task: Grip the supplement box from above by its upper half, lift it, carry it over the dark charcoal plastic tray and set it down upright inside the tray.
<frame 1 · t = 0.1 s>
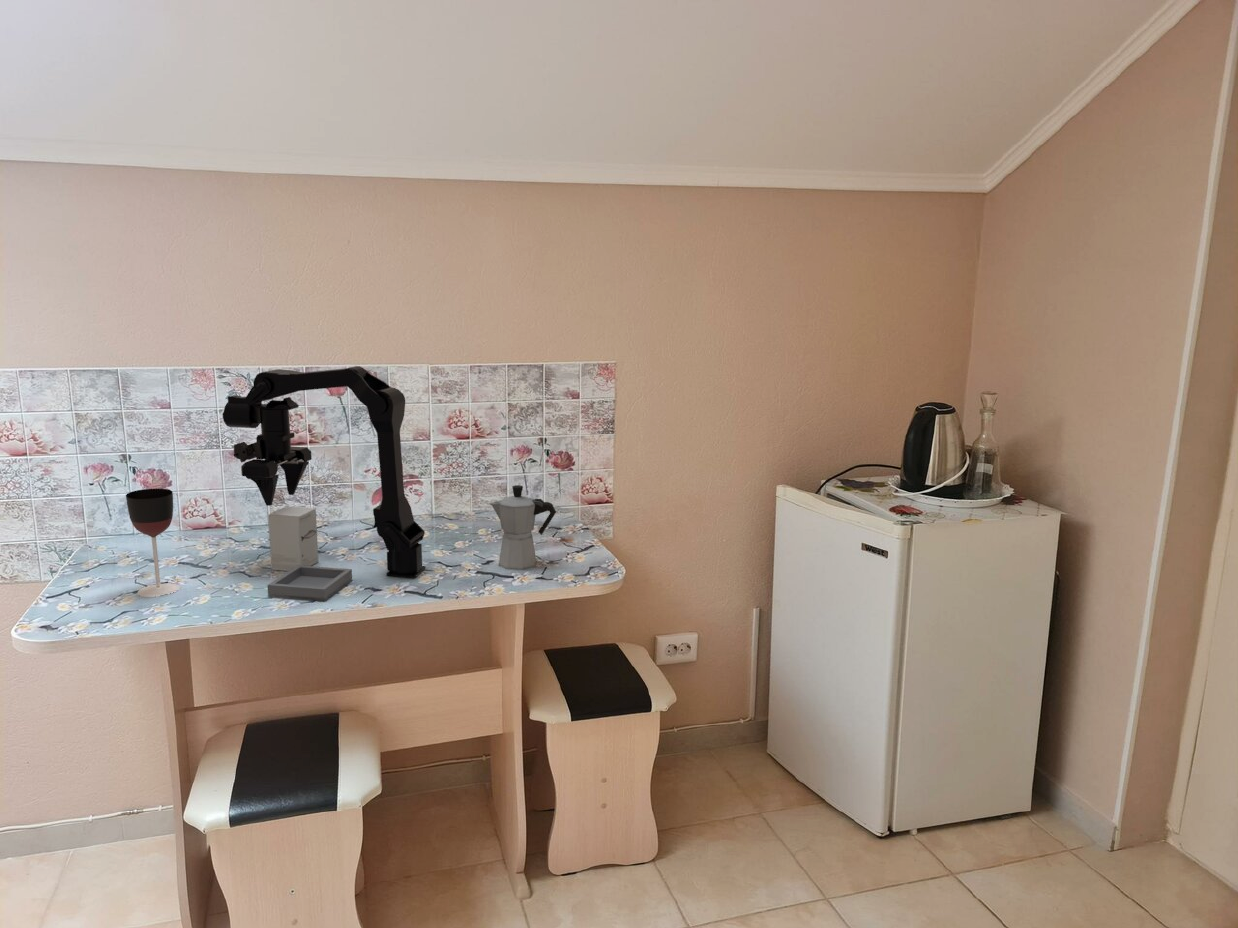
hand: (280, 500, 187), 15 cm above the table, tool pointing down, fingers open, 9 cm apart
coffee maker: (522, 564, 194), on the table
tray: (311, 588, 176), on the table
wineglass: (158, 590, 173), on the table
supplement box: (295, 566, 189), on the table
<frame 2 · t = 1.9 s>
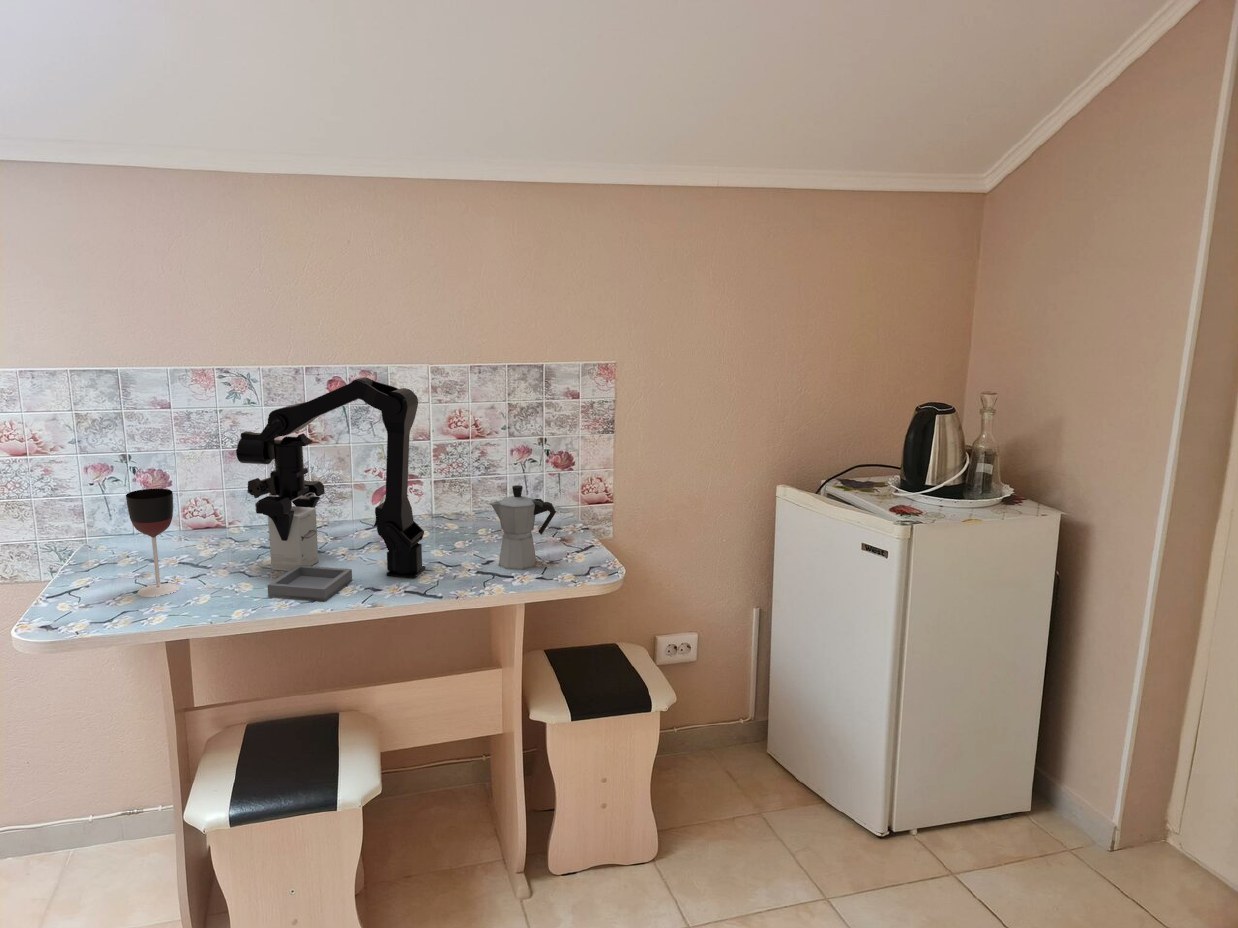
hand: (293, 535, 188), 7 cm above the table, tool pointing down, fingers closed on supplement box, 7 cm apart
supplement box: (295, 566, 189), on the table, touching gripper
everything else where it was.
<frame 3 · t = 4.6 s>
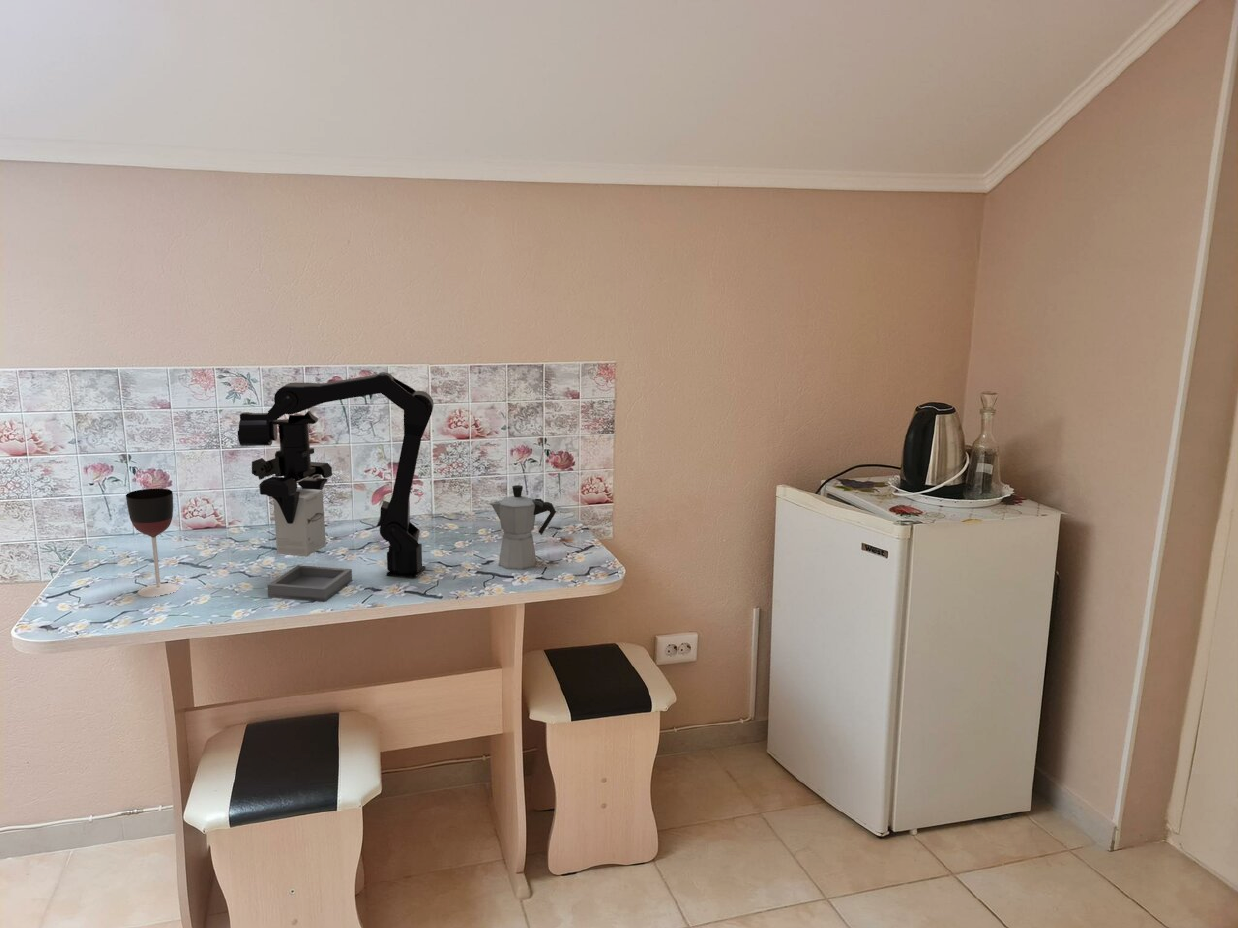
hand: (300, 518, 180), 13 cm above the table, tool pointing down, fingers closed on supplement box, 7 cm apart
supplement box: (302, 551, 182), point 6 cm above the table, touching gripper
everything else where it was.
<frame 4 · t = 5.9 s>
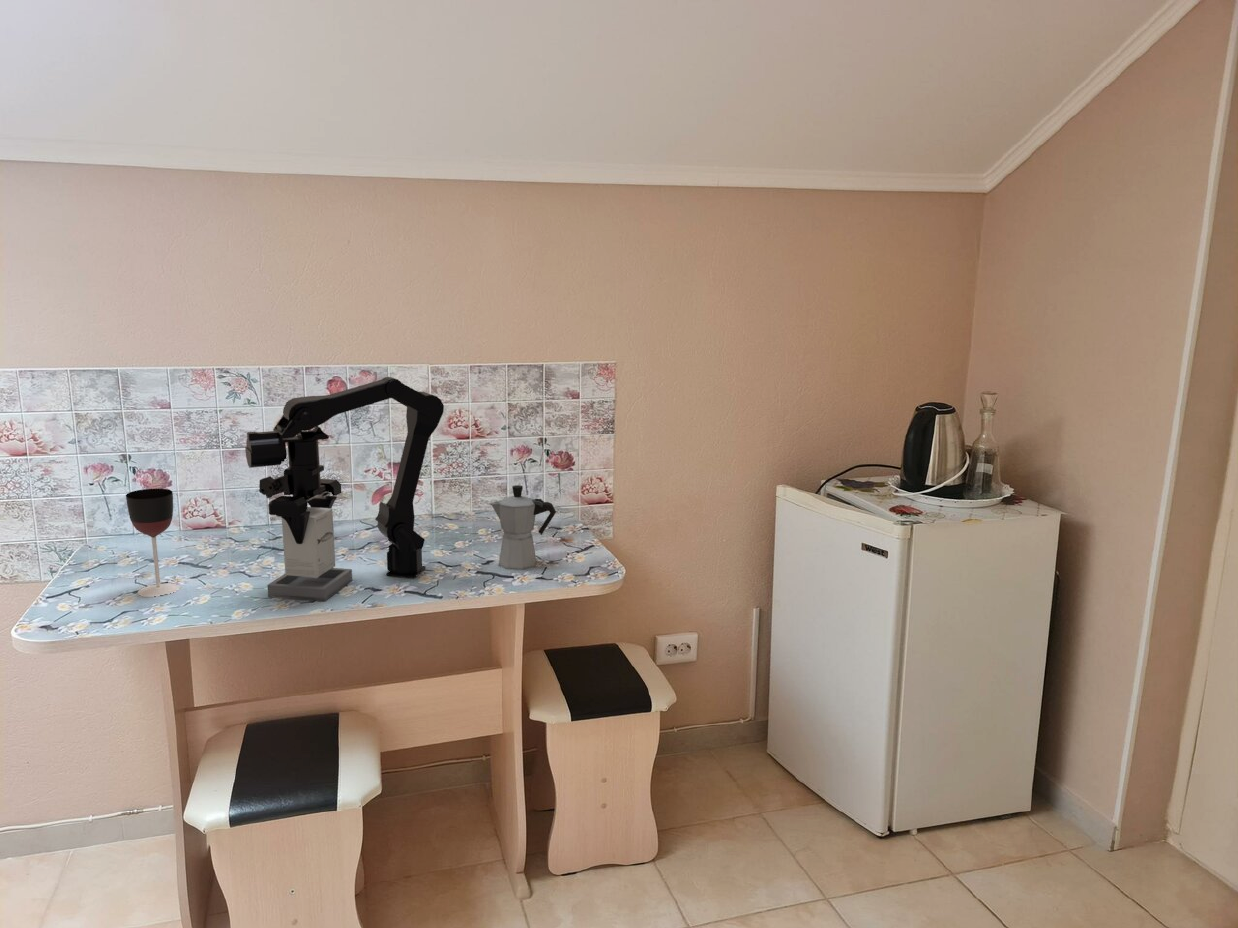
hand: (309, 537, 174), 11 cm above the table, tool pointing down, fingers closed on supplement box, 7 cm apart
supplement box: (311, 572, 175), point 3 cm above the table, touching gripper
everything else where it was.
when the fingers open (9 cm above the table, at t = 7.2 s): supplement box drops 1 cm, resting on tray.
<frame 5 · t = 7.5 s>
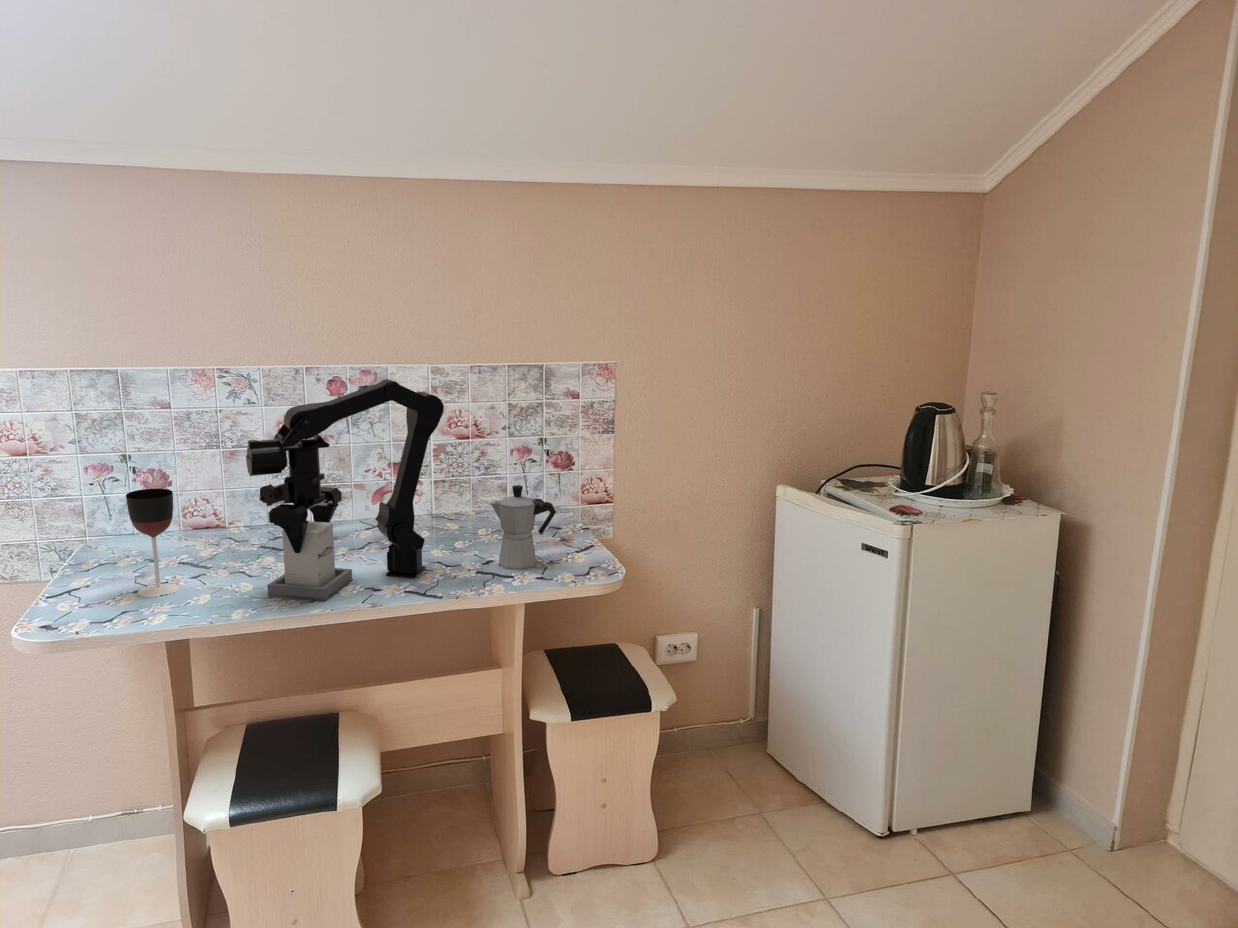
hand: (309, 545, 174), 9 cm above the table, tool pointing down, fingers open, 9 cm apart
supplement box: (311, 586, 176), resting on tray
everything else where it was.
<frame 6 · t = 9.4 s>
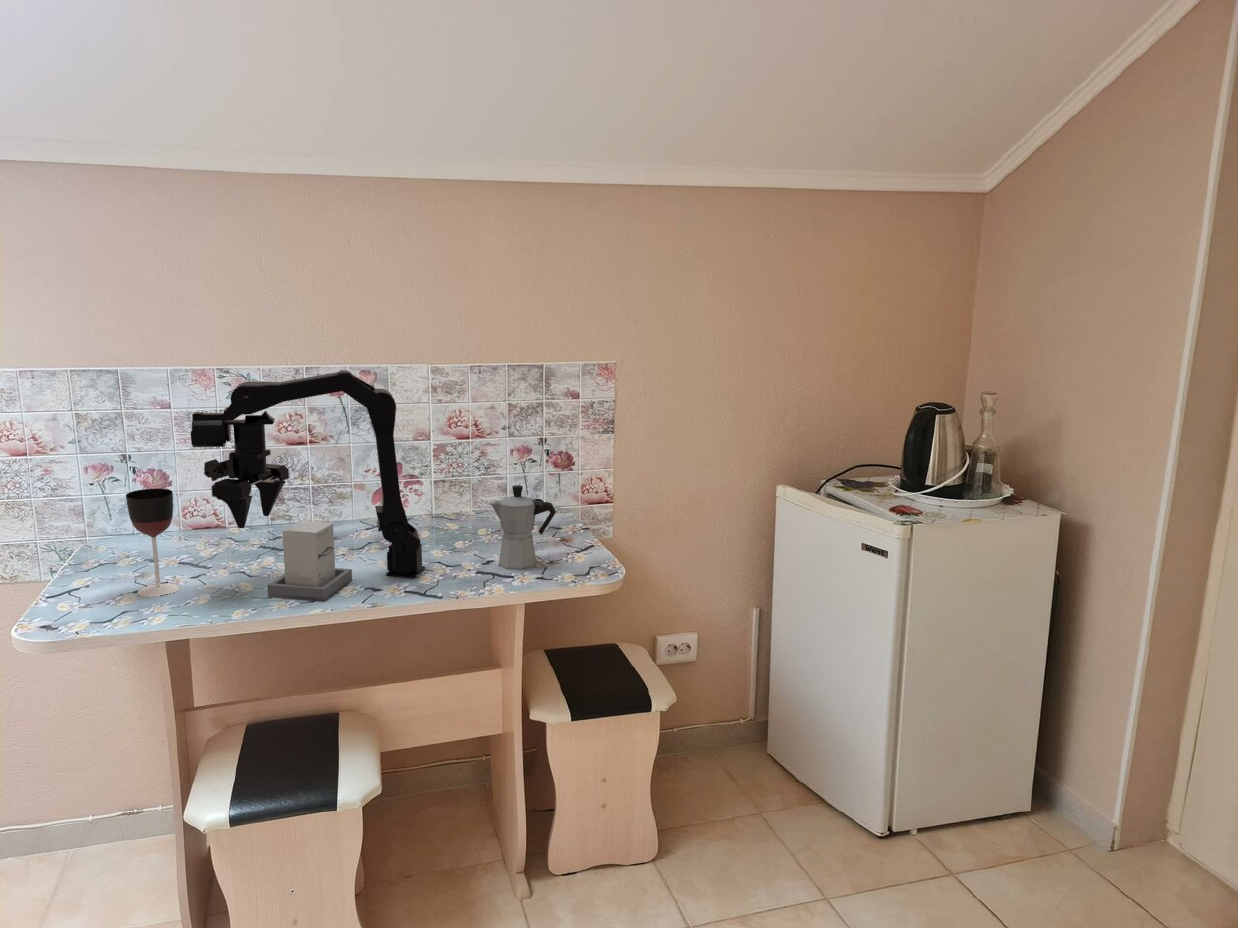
hand: (254, 521, 175), 13 cm above the table, tool pointing down, fingers open, 9 cm apart
nothing on the table moved.
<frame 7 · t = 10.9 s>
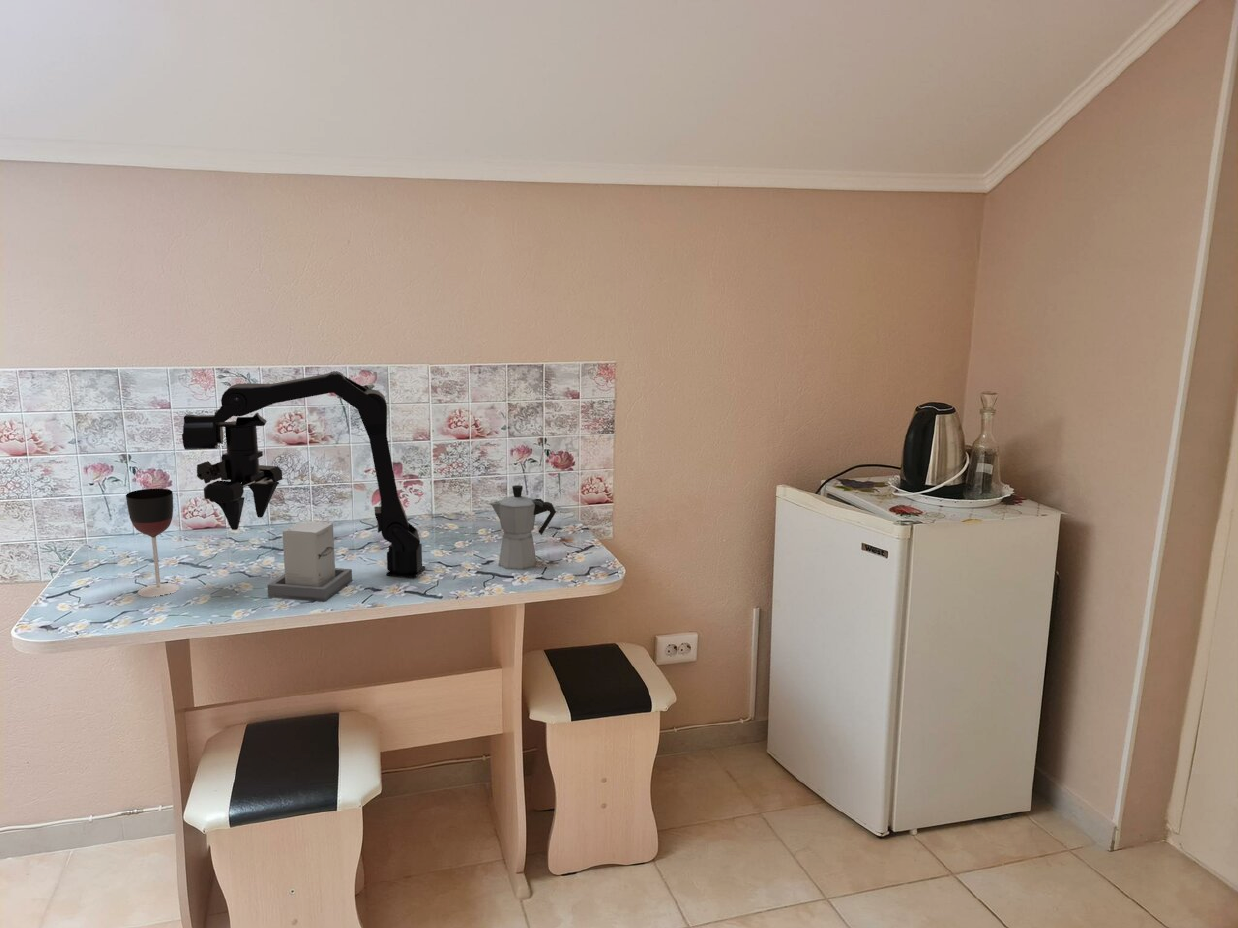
hand: (247, 523, 175), 13 cm above the table, tool pointing down, fingers open, 9 cm apart
nothing on the table moved.
at the end: supplement box 0.1 cm off-centre on the tray, point 0.4 cm above the tray's base; supplement box tilted 0°; the gripper is holding nothing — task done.
